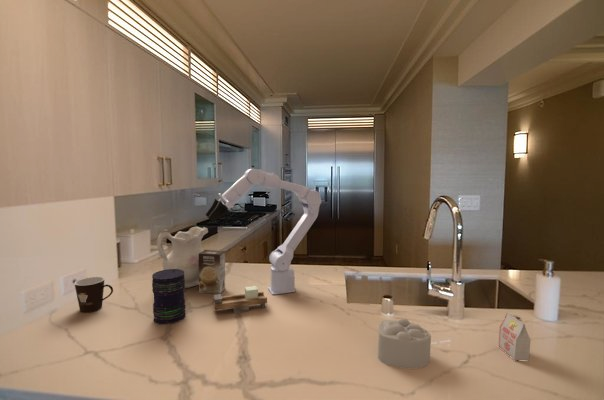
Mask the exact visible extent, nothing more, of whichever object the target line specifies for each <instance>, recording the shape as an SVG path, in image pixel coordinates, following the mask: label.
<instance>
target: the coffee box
mask: <svg viewBox="0 0 604 400" xmlns="http://www.w3.org/2000/svg"><path fill="white" fill-rule="evenodd" d="M202 250H203V251H202V252H200V253H199V285H198V293H203V294H214V295H217V294H221V293H222V292H224V290H225V288H226V251H225V250H216V249H214V250H213V249H202Z"/></svg>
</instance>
